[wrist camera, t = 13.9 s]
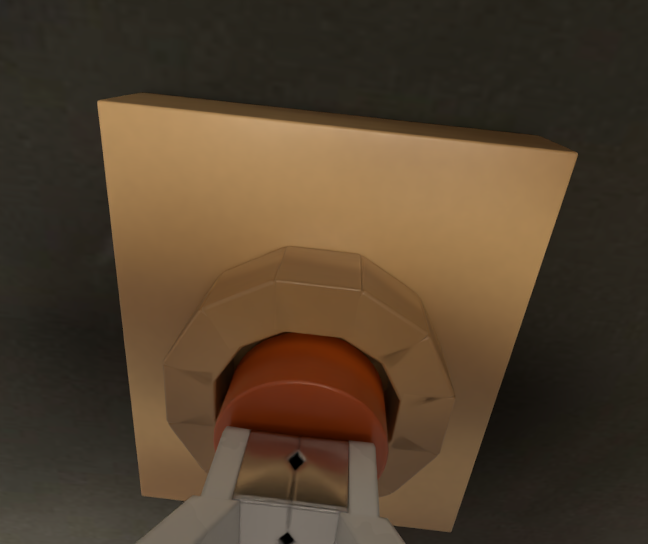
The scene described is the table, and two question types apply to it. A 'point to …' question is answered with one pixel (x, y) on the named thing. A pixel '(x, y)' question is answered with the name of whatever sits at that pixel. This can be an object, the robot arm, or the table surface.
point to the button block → (323, 271)
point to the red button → (308, 392)
